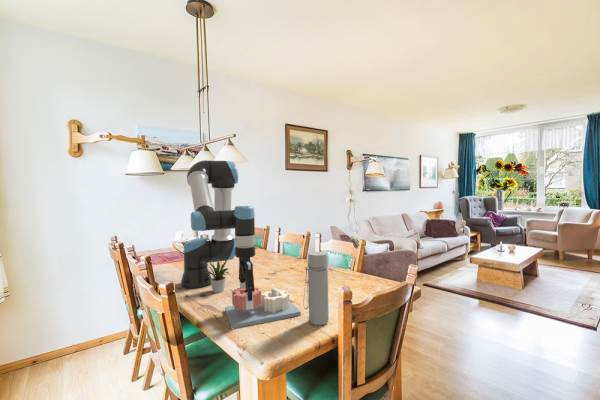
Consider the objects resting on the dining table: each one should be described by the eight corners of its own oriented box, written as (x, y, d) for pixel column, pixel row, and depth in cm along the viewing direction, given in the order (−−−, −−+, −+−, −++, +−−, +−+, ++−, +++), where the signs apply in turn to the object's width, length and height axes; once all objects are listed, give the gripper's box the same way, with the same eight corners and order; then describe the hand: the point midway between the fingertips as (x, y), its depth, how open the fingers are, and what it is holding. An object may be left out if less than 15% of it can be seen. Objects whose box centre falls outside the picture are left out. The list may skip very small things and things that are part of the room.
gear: (256, 297, 116) (256, 285, 116) (262, 306, 107) (262, 293, 107) (231, 301, 113) (231, 289, 113) (235, 311, 103) (235, 297, 103)
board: (225, 310, 115) (224, 289, 115) (285, 300, 125) (285, 280, 125) (232, 328, 100) (231, 304, 99) (300, 315, 110) (300, 293, 109)
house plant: (199, 298, 129) (198, 262, 129) (201, 288, 142) (200, 256, 142) (231, 295, 133) (230, 260, 132) (230, 285, 146) (229, 254, 146)
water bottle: (327, 316, 108) (326, 251, 107) (330, 326, 100) (329, 255, 99) (303, 317, 108) (302, 251, 107) (304, 327, 100) (303, 256, 99)
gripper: (230, 242, 118) (231, 295, 119) (241, 252, 98) (242, 316, 98) (248, 240, 121) (249, 292, 122) (262, 250, 100) (263, 313, 101)
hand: (246, 303), depth 110 cm, fingers closed on gear, 10 cm apart
